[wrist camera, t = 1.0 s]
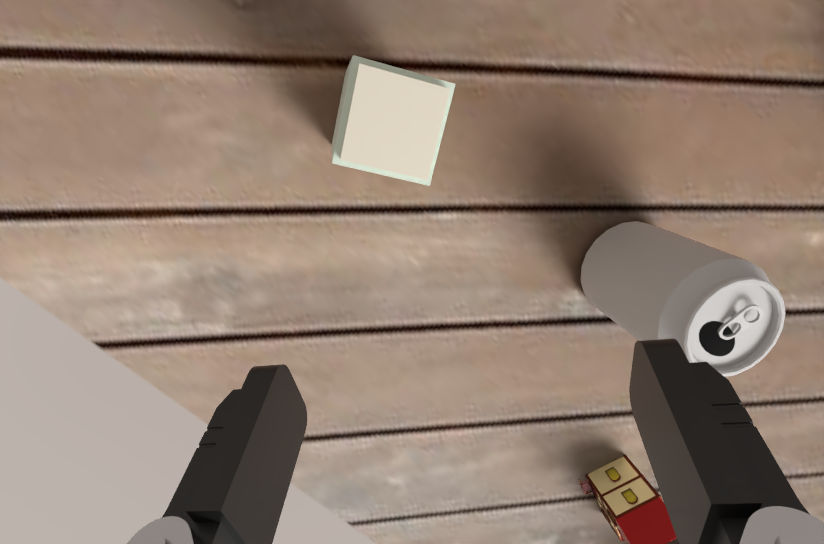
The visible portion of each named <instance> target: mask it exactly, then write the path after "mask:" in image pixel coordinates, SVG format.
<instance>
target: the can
mask: <svg viewBox="0 0 824 544" xmlns="http://www.w3.org/2000/svg"><path fill="white" fill-rule="evenodd" d="M581 284H582V288H583V291H584V294H585V296H586V297H587V298H588V300H589V301H590V302H591V304H592V305H593V306H595V307H596V308H597V309H599V310H600V311H601V312H603V313H604V314H605V315H607V316H608V317H609V318H610V319H612V320H613V321H614V322H616V323H617V324H618V325H620V326H621V327H622V328H624V329H625V330H626V331H628V332H629V333H630V334H631V335H633V336H634V337H635V338H637V339H638V340H639V341H644V340H658V339H673V338H674V339H676V340H677V341H678V342H679V344H680V346H681V348H682V349H683V351H684V353H685V355H686V357H687V359H688V361H689V363H694V362H707V363H709V364H710V365H711V366H712V367H713V368H715V369H716V370H717V371H718V372H719V373H720V374H722V375H723V376H724V377H727V376H733V375H736V374H739V373H741V372H743V371H745V370H747V369H750V368H751V367H753V366H754V365H755V364H757V363H758V362H759V361H760V360H762V359H763V358H764V357H765V356H766V355H767V354H768V352H769V351H770V350H771V349H772V348H773V346H774V345H775V344H776V341H777V339H778V337H779V335H780V333H781V331H782V329H783V324H784V319H785V307H784V299H783V298H782V296H781V294H780V292H779V291H778V289H777V287H775V286H774V285H772V284H771V283H770V281H769V279H768V277H767V276H766V274H765V272H764V271H763V270H762V269H760V268H759V267H758V266H756V265H755V264H753V263H752V262H750V261H747V260H745V259H742V258H739V257H737V256H734V255H731V254H729V253H726V252H723V251H721V250H718V249H715V248H713V247H710V246H707V245H705V244H702V243H699V242H697V241H694V240H691V239H689V238H686V237H683V236H681V235H678V234H675V233H673V232H670V231H667V230H664V229H662V228H659V227H656V226H654V225H651V224H647V223H643V222H638V221H634V222H626V223H621V224H619V225H617V226H614V227H612V228H610V229H608V230H607V231H606V232H604V233H603V234H602V235H601V236H600V237H598V238H597V239H596V240H595V241H594V243H593V244H592V246H591V247H590V249H589V250H588V251H587V253H586V256H585V258H584V261H583V264H582V267H581Z"/></svg>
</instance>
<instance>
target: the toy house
mask: <svg viewBox="0 0 824 544" xmlns="http://www.w3.org/2000/svg"><path fill="white" fill-rule="evenodd" d="M585 476H586V478H587V480H585V481H583V482H580V480H579V482H580V485H581V488H582V490H583V492H584V493H585V494H588V493H590V492H592V491H593V494H594V496H595V497H596V499H597V501H598V503H599V505H600V508H601V512H602V514H603V515H604V517H605V518H606V520H607V521H608V523H609V524H610V526H611V527H612V529H613V530H614V532H615V533H616V535H617V536H618V538H619V539H620V541H626V543H627V544H666V543H668V542H670V541H672V540H674V539H676V538H677V537H676V534H675V531H674V529H673V526H672V523H671V520H670V517H669V514H668V512H667V509H666V506H665V504H664V502H663V501H662V498H661V496H660V495H659V494H658V493H657V492H656V490H655V489H654V488H653V487H652V486H651V484H650V483H649V482H648V481H647V480H646V479H645V477H644V476H643V474H641V473H640V471H639V470H638V469H637V468H636V467H635V466H634V464H633V463H632V462H631V461H630V460H629V458H628V457H627V456H626V455H624V456H623V457H621V458H619V459H617V460H615V461H613V462H611V463H609V464H607V465H605V466H603V467H601V468H599V469H597V470H595V471H593V472H591V473H589V474H587V475H585ZM590 490H592V491H590ZM588 491H590V492H588ZM586 492H587V493H586Z"/></svg>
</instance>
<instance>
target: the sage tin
mask: <svg viewBox="0 0 824 544" xmlns="http://www.w3.org/2000/svg"><path fill="white" fill-rule="evenodd" d="M454 88H455V84H454V83H450V82H447V81H443V80H440V79H436V78H432V77H429V76H425V75H422V74H418V73H415V72H411V71H408V70H404V69H401V68H397V67H394V66H390V65H387V64H383V63H379V62H376V61H372V60H369V59H365V58H362V57H358V56H355V55H353V56H352V59H351V61H350V63H349V65H348V68H347V70H346V73H345V78H344V83H343V88H342V93H341V99H340V104H339V109H338V114H337V119H336V125H335V130H334V135H333V140H332V163H333V164H337V165H341V166H346V167H350V168H354V169H359V170H363V171H367V172H372V173H376V174H380V175H385V176H389V177H393V178H398V179H402V180H406V181H411V182H415V183H419V184H424V185H428V186H430V182H431V178H432V174H433V171H434V167H435V163H436V159H437V155H438V151H439V147H440V143H441V139H442V135H443V131H444V127H445V123H446V119H447V115H448V112H449V108H450V104H451V100H452V96H453V92H454Z"/></svg>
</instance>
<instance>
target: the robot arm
mask: <svg viewBox="0 0 824 544" xmlns="http://www.w3.org/2000/svg"><path fill="white" fill-rule="evenodd" d="M630 402H631V407H632V412H633V415H634V418H635V421H636V424H637V427H638V430H639V432H640V435H641V438H642V441H643V444H644V447H645V449H646V452H647V455H648V458H649V461H650V463H651V466H652V469H653V472H654V475H655V478H656V480H657V483H658V486H659V489H660V492H661V495H662V497H663V500H664V503H665V506H666V509H667V512H668V514H669V517H670V520H671V523H672V526H673V529H674V531H675V534H676V537H677V540H678V543H679V544H824V523H823V522H822V521H820V520H819V519H817V518H815V517H813V516H812V515H810V514H809V513H808V511H807V510H806V509H805V508H804V507H803V505H802V504H801V502H800V501H799V499H798V498H797V496H796V495H795V493H794V491H793V489H792V488H791V486H790V484H789V483H788V481H787V479H786V477H785V476H784V474H783V472H782V471H781V469H780V467H779V465H778V464H777V462H776V460H775V459H774V457H773V455H772V454H771V452H770V450H769V448H768V447H767V445H766V443H765V442H764V440H763V438H762V436H761V435H760V433H759V431H758V430H757V428H756V427H754V426H753V421H752V419H751V418H750V416H749V414H748V413H747V411H746V409H745V408H743V407H742V402H741V401H740V399H739V397H738V395H737V394H736V392H735V390H734V389H733V387H732V385H731V383H730V382H729V380H728V379H726V378H725V377H724V376H723V375H722V374H720V373H719V372H718V371H717V370H716V369H715V368H713V367H712V366H711V365H710V364H709V363H707V362H694V363H689V361H688V359H687V357H686V355H685V353H684V351H683V349H682V348H681V346H680V344H679V342H678V341H677V340H676V339H674V338H673V339H658V340H644V341H637V342H636V343H635V347H634V355H633V363H632V372H631V380H630ZM306 425H307V411H306V406H305V403H304V401H303V399H302V397H301V394H300V392H299V390H298V388H297V386H296V384H295V381H294V379H293V377H292V375H291V373H290V371H289V369H288V367H287V366H286V365H270V366H256V367H253V368H252V369H251V370H250V371H249V373H248V375H247V378H246V380H245V382H244V384H243V386H242V388H241V389H238V390H233V391H232V392H231V393H230V394H229V395H228V396H227V397H226V398H225V399H224V400H223V402H222V403H221V404H220V405H219V406H218V407H217V408H216V410H215V412H214V415H213V417H212V419H211V421H210V423H209V425H208V427H207V429H208V430H207V431H206V432H205V433H204V435H203V437H202V439H201V441H200V443H199V448H197V449H196V451H195V453H194V456H193V457H192V459H191V462H190V463H189V466H188V468H187V470H186V472H185V474H184V476H183V478H182V480H181V482H180V484H179V486H178V488H177V490H176V492H175V494H174V496H173V498H172V500H171V502H170V504H169V506H168V508H167V510H166V512H165V514H164V515H163V517H162V518H160V519H157V520H155V521H153V522H151V523H149V524H148V525H146V526H145V527H143V528H142V529H141V530H140V531H138V532H137V533H136V534H135V535H134V536H133V537H132V538H131V540H130V541H129V542H128V543H127V544H272V542H273V539H274V535H275V532H276V528H277V525H278V522H279V518H280V515H281V511H282V508H283V505H284V501H285V498H286V494H287V491H288V487H289V485H290V481H291V478H292V474H293V471H294V468H295V464H296V461H297V458H298V454H299V451H300V447H301V444H302V441H303V437H304V434H305V430H306Z"/></svg>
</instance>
